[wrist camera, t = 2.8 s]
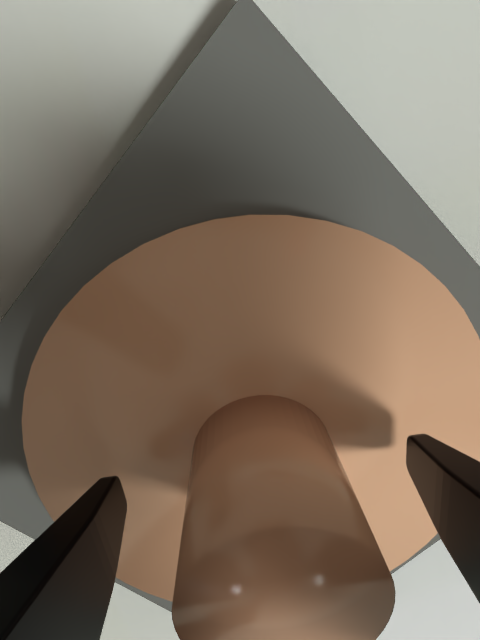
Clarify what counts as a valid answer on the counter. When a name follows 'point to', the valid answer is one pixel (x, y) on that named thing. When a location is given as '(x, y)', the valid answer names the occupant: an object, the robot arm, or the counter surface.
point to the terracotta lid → (256, 419)
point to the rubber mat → (221, 203)
